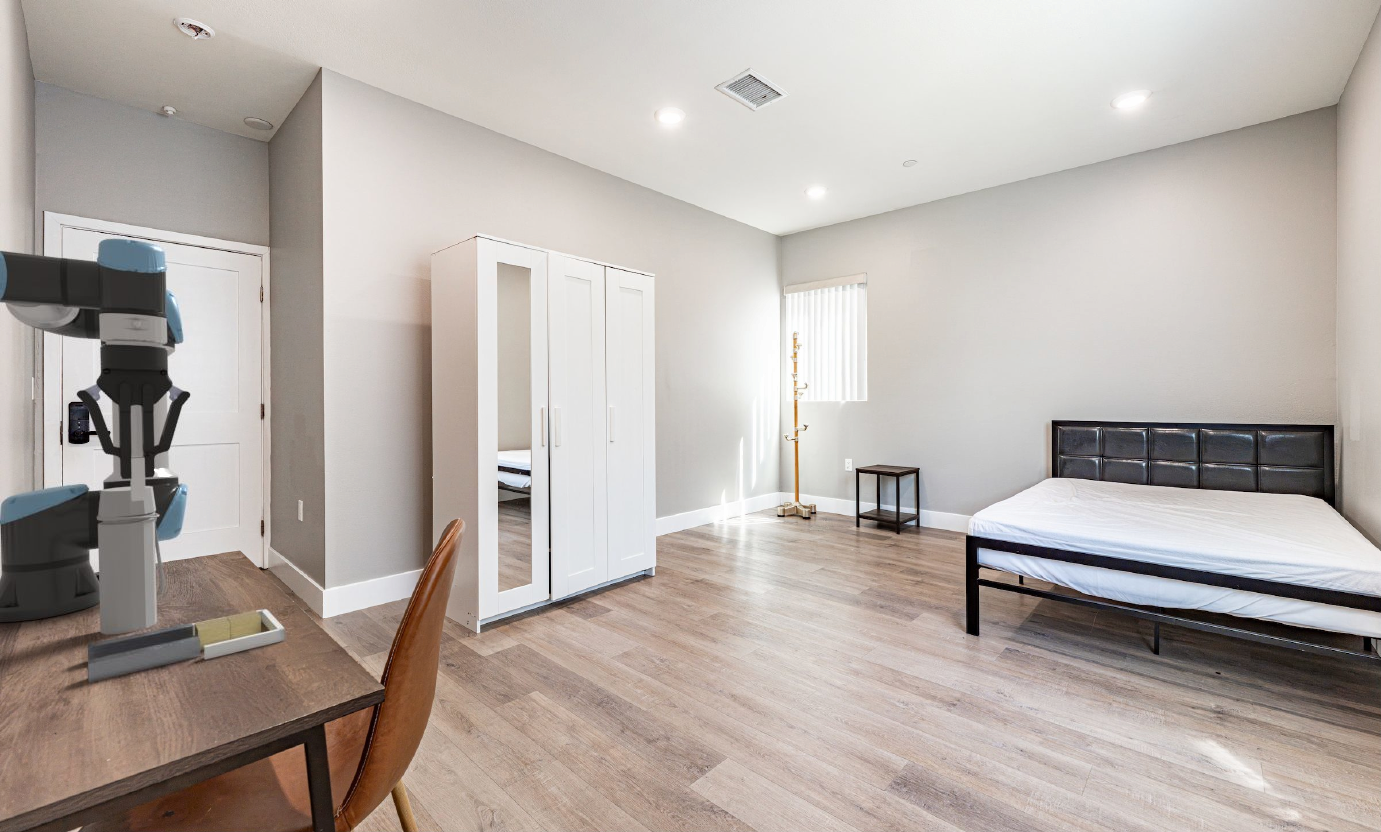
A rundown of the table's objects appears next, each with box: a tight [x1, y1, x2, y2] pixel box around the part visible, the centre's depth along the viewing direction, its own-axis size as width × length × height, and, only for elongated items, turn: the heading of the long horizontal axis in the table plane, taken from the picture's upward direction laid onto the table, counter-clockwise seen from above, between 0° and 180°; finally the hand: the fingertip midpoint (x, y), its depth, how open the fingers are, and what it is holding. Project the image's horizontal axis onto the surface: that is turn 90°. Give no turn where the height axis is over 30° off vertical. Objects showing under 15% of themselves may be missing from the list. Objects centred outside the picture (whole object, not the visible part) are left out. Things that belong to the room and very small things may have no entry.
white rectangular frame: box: [192, 608, 286, 660], centre depth 99 cm, size 14×10×3 cm
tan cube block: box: [194, 616, 230, 651], centre depth 96 cm, size 4×4×4 cm
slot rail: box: [86, 622, 201, 683], centre depth 91 cm, size 10×12×4 cm
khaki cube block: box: [225, 610, 262, 640], centre depth 99 cm, size 4×4×4 cm
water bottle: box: [97, 486, 165, 636], centre depth 104 cm, size 9×8×25 cm
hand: (138, 499), depth 92 cm, fingers closed
